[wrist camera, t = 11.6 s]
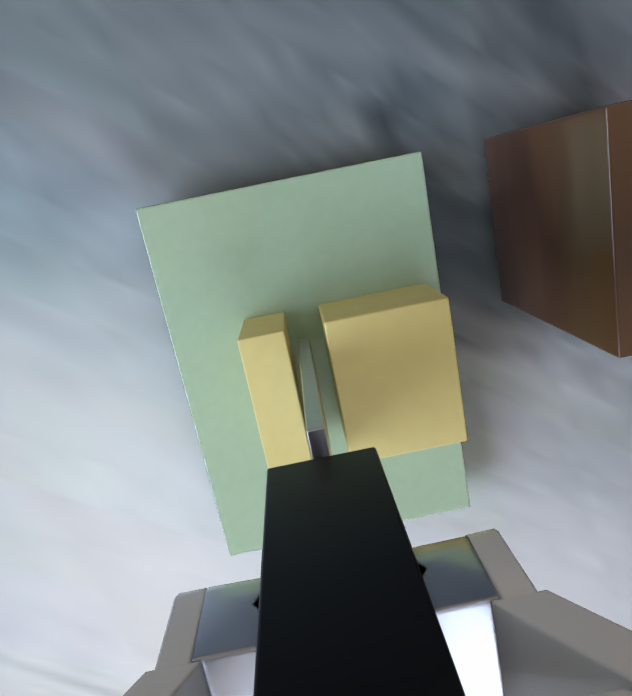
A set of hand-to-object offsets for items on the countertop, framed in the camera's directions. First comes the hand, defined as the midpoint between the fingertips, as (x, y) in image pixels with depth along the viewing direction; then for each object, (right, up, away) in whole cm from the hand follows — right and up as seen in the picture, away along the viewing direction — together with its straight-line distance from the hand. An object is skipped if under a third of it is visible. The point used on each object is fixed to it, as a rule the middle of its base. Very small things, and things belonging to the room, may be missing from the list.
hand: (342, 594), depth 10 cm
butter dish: (0, +4, +13) cm, 13 cm away
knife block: (+9, +9, +12) cm, 17 cm away
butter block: (+2, +4, +12) cm, 12 cm away
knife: (-1, +3, +11) cm, 11 cm away
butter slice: (-2, +3, +12) cm, 12 cm away
